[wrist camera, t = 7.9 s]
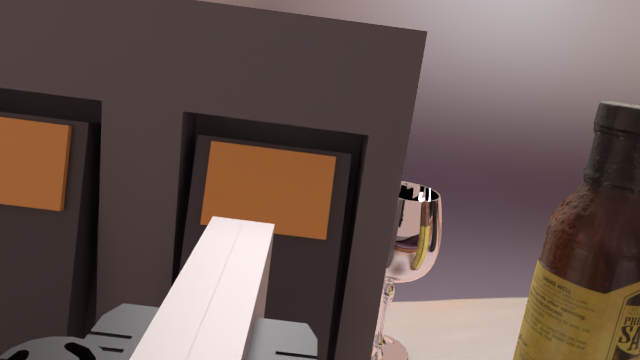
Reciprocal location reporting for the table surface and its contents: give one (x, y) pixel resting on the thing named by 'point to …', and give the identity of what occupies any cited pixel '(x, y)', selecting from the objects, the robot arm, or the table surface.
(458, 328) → the table surface
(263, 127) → the block
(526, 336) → the sauce bottle
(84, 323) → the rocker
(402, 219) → the wineglass
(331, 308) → the panel
